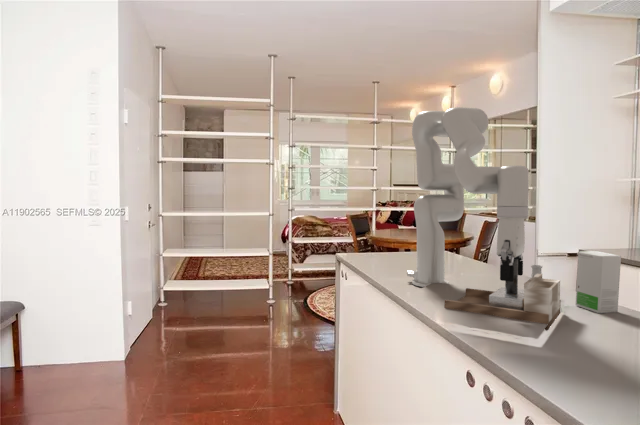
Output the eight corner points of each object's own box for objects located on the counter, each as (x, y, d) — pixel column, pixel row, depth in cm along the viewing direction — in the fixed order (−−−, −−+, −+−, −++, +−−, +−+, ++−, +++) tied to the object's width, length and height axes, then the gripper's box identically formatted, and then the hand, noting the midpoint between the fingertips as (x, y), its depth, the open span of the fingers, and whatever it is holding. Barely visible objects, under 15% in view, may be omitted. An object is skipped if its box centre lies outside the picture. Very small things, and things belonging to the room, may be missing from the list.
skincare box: (574, 306, 123) (575, 251, 122) (594, 304, 124) (595, 250, 124) (600, 314, 115) (601, 255, 114) (620, 312, 116) (621, 254, 115)
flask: (553, 301, 128) (553, 267, 128) (526, 300, 130) (527, 267, 129) (545, 295, 135) (545, 263, 135) (520, 295, 137) (520, 263, 136)
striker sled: (488, 310, 113) (489, 260, 112) (501, 301, 122) (502, 255, 122) (522, 315, 108) (522, 263, 107) (532, 305, 117) (533, 257, 117)
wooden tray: (444, 313, 117) (444, 275, 116) (466, 299, 131) (467, 266, 131) (547, 330, 102) (548, 287, 101) (560, 312, 116) (560, 275, 116)
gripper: (506, 211, 123) (505, 271, 124) (487, 214, 109) (487, 281, 110) (535, 211, 118) (534, 274, 119) (519, 215, 105) (519, 285, 105)
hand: (511, 277), depth 115 cm, fingers open, 9 cm apart
